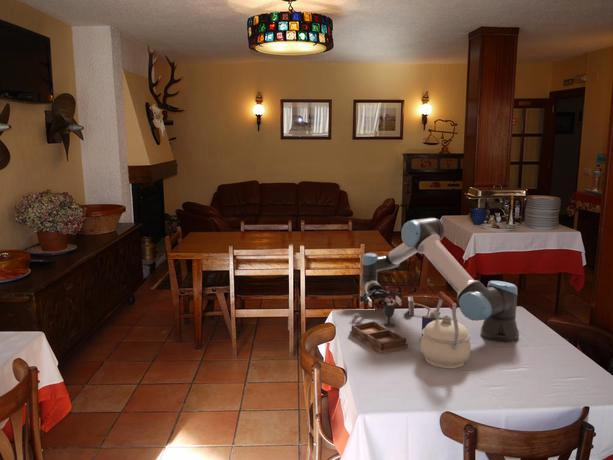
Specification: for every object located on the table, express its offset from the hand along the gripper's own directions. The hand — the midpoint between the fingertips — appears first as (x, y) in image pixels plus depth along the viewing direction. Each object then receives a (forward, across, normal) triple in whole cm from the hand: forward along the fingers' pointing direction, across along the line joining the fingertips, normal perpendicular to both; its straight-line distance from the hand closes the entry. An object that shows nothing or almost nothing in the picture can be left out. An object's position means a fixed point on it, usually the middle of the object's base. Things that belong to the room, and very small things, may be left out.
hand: (385, 303), depth 236 cm
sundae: (+4, 0, -9) cm, 10 cm away
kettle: (+42, -11, -9) cm, 44 cm away
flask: (+20, -15, -9) cm, 27 cm away
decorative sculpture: (-6, -19, -9) cm, 22 cm away
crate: (+22, +9, -9) cm, 25 cm away
